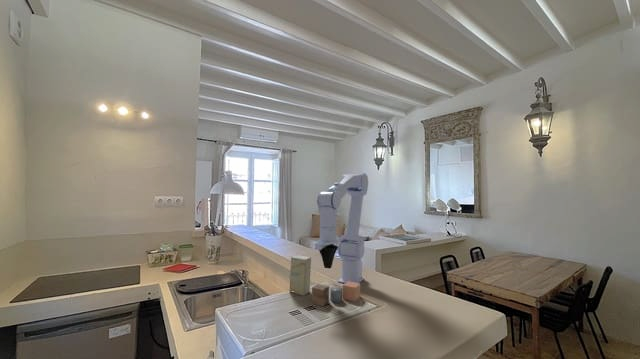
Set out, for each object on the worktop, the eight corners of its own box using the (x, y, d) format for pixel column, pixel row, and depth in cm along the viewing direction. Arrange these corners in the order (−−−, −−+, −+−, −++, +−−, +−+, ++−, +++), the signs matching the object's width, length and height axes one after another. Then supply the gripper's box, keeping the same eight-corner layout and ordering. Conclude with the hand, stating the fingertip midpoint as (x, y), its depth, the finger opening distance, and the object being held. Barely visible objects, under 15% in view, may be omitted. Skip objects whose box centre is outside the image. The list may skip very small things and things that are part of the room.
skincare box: (289, 292, 88) (289, 257, 88) (296, 288, 92) (296, 254, 92) (304, 295, 85) (305, 259, 86) (310, 291, 89) (311, 256, 89)
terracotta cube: (347, 294, 87) (348, 281, 87) (360, 297, 85) (360, 283, 85) (342, 298, 83) (342, 285, 83) (355, 301, 81) (355, 287, 81)
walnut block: (318, 299, 82) (318, 283, 83) (328, 301, 80) (329, 286, 81) (311, 303, 79) (312, 287, 79) (322, 306, 77) (323, 290, 77)
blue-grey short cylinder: (333, 296, 84) (333, 286, 85) (344, 299, 82) (344, 288, 83) (328, 301, 81) (328, 290, 81) (339, 303, 79) (339, 292, 79)
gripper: (328, 230, 76) (328, 275, 76) (347, 225, 89) (347, 264, 88) (309, 228, 80) (308, 271, 79) (329, 224, 92) (329, 261, 92)
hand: (327, 267), depth 84 cm, fingers closed
